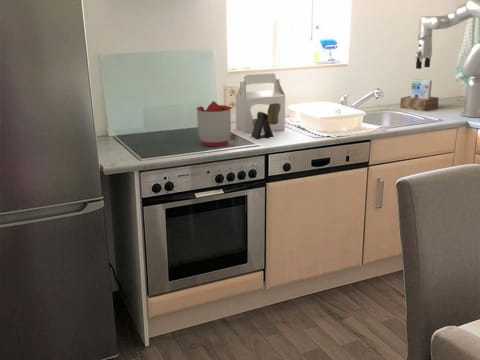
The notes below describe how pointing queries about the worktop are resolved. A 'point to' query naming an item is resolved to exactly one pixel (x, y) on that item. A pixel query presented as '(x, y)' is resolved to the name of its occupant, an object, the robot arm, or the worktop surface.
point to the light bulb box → (421, 88)
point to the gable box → (260, 97)
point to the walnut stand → (419, 103)
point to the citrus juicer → (214, 124)
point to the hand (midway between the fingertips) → (422, 67)
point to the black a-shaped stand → (262, 122)
